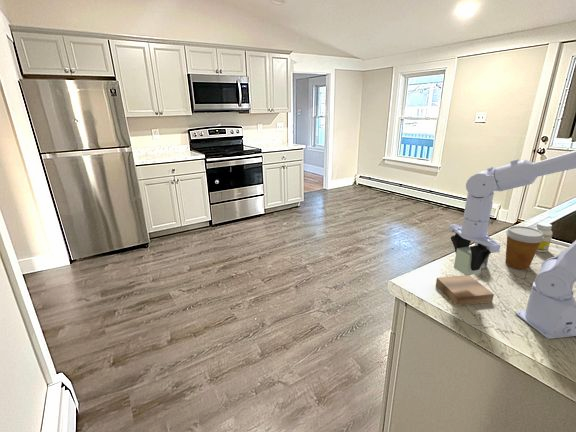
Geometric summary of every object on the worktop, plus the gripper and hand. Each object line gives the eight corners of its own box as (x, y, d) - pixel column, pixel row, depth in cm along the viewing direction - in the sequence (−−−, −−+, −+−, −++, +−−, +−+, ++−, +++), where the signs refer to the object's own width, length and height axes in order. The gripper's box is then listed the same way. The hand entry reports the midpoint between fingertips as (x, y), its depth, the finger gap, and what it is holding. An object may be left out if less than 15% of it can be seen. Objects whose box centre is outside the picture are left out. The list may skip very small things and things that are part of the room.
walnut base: (492, 302, 81) (493, 294, 81) (456, 305, 81) (458, 297, 80) (467, 282, 91) (468, 274, 90) (435, 285, 90) (436, 277, 89)
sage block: (480, 273, 82) (484, 253, 80) (466, 275, 81) (470, 255, 79) (467, 265, 86) (470, 246, 84) (453, 267, 85) (456, 248, 83)
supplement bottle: (549, 253, 106) (556, 228, 102) (530, 250, 108) (536, 225, 105) (545, 247, 110) (552, 222, 107) (527, 245, 112) (533, 220, 109)
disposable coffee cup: (541, 267, 97) (550, 232, 93) (525, 275, 93) (535, 239, 89) (509, 255, 105) (516, 223, 101) (493, 262, 101) (500, 229, 97)
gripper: (514, 226, 72) (503, 276, 77) (467, 208, 86) (459, 251, 90) (490, 229, 71) (480, 280, 75) (445, 211, 84) (439, 255, 89)
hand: (467, 265), depth 83 cm, fingers closed on sage block, 4 cm apart
